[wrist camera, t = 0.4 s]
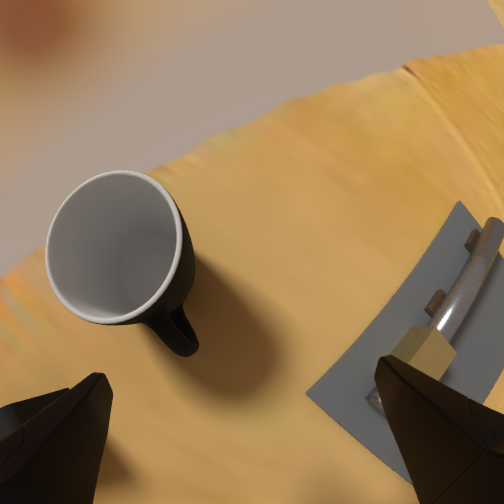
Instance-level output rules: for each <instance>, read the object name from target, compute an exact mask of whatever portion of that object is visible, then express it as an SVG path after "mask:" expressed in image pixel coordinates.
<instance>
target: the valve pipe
mask: <svg viewBox="0 0 504 504" xmlns="http://www.w3.org/2000/svg"><path fill="white" fill-rule="evenodd" d="M503 238H504V223H503V222H502V221H501V220H500V219H498V218H495V217H490V218H488V219H487V221H486V223H485V225H484V227H483V229H482V231H481V233H480V232H479V231H478V229H475V230H473V231H471V233H470V235H469V237H468V238H467V240H466V242H465V244H464V246H465V248H466V249H467V250H468V252H469V253H470V255H469V257H468V259H467V260H466V262H465V264H464V266H463V268H462V269H461V271H460V273H459V275H458V276H457V278H456V280H455V282H454V283H453V285H452V287H451V288H450V290H449V291H448V293H447V295H446V294H445V292H444V291H443V290H438V291H436V292H435V294H434V295H433V297H432V298H431V300H430V301H429V302H428V304H427V305H426V307H425V308H424V310H425V312H426V313H427V314H428V315H429V316H430V318H431V319H430V321H429V322H428V323H427V325H426V326H425V327H411V328H410V329H409V330H408V332H407V333H406V334H405V336H404V337H403V338H402V339H401V341H400V342H399V343H398V345H397V346H396V347H395V348H394V350H393V351H392V352H391V353H390V354H389V355H393V356H395V357H397V358H398V359H400V360H402V361H404V362H405V363H407V364H409V365H411V366H413V367H414V368H416V369H418V370H420V371H421V372H423V373H425V374H427V375H429V376H430V377H432V378H434V379H436V380H438V381H439V379H440V378H441V377H442V375H443V374H444V372H445V371H446V369H447V368H448V366H449V365H450V363H451V362H452V360H453V359H454V357H455V356H456V354H457V353H456V352H455V350H454V349H453V348H452V346H451V345H450V344H449V342H450V340H451V339H452V337H453V336H454V334H455V333H456V331H457V329H458V328H459V326H460V324H461V323H462V321H463V319H464V318H465V316H466V314H467V313H468V311H469V309H470V307H471V305H472V304H473V302H474V300H475V298H476V296H477V294H478V292H479V291H480V289H481V287H482V285H483V283H484V281H485V279H486V277H487V275H488V272H489V270H490V268H491V266H492V264H493V262H494V259H495V257H496V255H497V253H498V250H499V248H500V245H501V243H502V241H503ZM439 382H440V381H439ZM365 400H366V401H367V402H368V403H369V404H370V405H371V406H372V407H373V408H374V409H375V410H376V411H378V412H379V413H380V414H381V415H383V416H384V417H385V418H386V416H385V413H384V410H383V407H382V403H381V400H380V397H379V393H378V390H377V387H374V388H373V389H372V390H371V391H370V392H369V394H368V395H367V396H366V397H365Z"/></svg>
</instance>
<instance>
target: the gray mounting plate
mask: <svg viewBox="0 0 504 504" xmlns="http://www.w3.org/2000/svg"><path fill="white" fill-rule="evenodd" d="M475 229H478V231H479V232H480V233H481V231H482V228H481V226H480V225H479V224H478V222H477V221H476V220H475V219H474V217H473V216H472V215H471V213H470V212H469V211H468V210H467V208H466V207H465V206H464V205H463V204H462V202H461V201H458V202H457V203H456V205H455V207H454V208H453V210H452V212H451V213H450V215H449V216H448V218H447V220H446V221H445V223H444V224H443V226H442V228H441V229H440V231H439V232H438V234H437V235H436V237H435V238H434V240H433V241H432V243H431V244H430V246H429V247H428V249H427V250H426V252H425V253H424V255H423V256H422V258H421V259H420V260H419V262H418V263H417V265H416V266H415V268H414V269H413V270H412V272H411V273H410V274H409V276H408V277H407V278H406V280H405V281H404V282H403V284H402V285H401V286H400V288H399V289H398V290H397V292H396V293H395V294H394V296H393V297H392V298H391V299H390V301H389V302H388V303H387V304H386V306H385V307H384V308H383V309H382V311H381V312H380V313H379V314H378V315H377V317H376V318H375V319H374V320H373V321H372V323H371V324H370V325H369V326H368V327H367V328H366V330H365V331H364V332H363V333H362V334H361V335H360V336H359V338H358V339H357V340H356V341H355V342H354V343H353V344H352V345H351V347H350V348H349V349H348V350H347V351H346V352H345V353H344V354H343V355H342V356H341V357H340V358H339V360H338V361H337V362H336V363H335V364H334V365H333V366H332V367H331V368H330V369H329V370H328V371H327V372H326V373H325V374H324V375H323V376H322V377H321V378H320V379H319V380H318V381H317V382H316V383H315V384H314V385H313V386H312V387H311V388H310V389H309V390H308V391H307V392H306V394H307V395H308V396H309V397H310V398H311V399H312V400H313V401H314V402H315V403H316V404H317V405H318V406H319V407H321V408H322V409H323V410H324V411H325V412H326V413H327V414H328V415H329V416H331V417H332V418H333V419H334V420H335V421H336V422H337V423H338V424H339V425H341V426H342V427H343V428H344V429H345V430H346V431H347V432H349V433H350V434H351V435H352V436H353V437H354V438H356V439H357V440H358V441H359V442H360V443H361V444H363V445H364V446H365V447H366V448H367V449H368V450H370V451H371V452H372V453H373V454H374V455H376V456H377V457H378V458H379V459H380V460H382V461H383V462H384V463H385V464H387V465H388V466H389V467H390V468H392V469H393V470H394V471H395V472H397V473H398V474H399V475H400V476H402V477H403V478H404V479H405V480H407V481H408V482H409V483H411V484H412V481H411V478H410V476H409V473H408V471H407V468H406V466H405V463H404V460H403V458H402V455H401V453H400V450H399V448H398V446H397V443H396V441H395V438H394V436H393V433H392V431H391V429H390V426H389V424H388V422H387V419H386V418H385V417H384V416H383V415H381V414H380V413H379V412H378V411H376V410H375V409H374V408H373V407H372V406H371V405H370V404H369V403H368V402H367V401H366V400H365V397H366V396H367V395H368V394H369V392H370V391H371V390H372V389H373V388H374V387H376V383H375V380H374V374H375V370H376V367H377V363H378V359H379V358H380V357H381V356H385V355H389V354H390V353H391V352H392V351H393V350H394V348H395V347H396V346H397V345H398V343H399V342H400V341H401V339H402V338H403V337H404V336H405V334H406V333H407V332H408V330H409V329H410V328H411V327H425V326H426V325H427V323H428V322H429V321H430V319H431V318H430V316H429V315H428V314H427V313H426V312H425V310H424V308H425V307H426V305H427V304H428V302H429V301H430V300H431V298H432V297H433V295H434V294H435V292H436V291H438V290H443V291H444V292H445V294H446V295H447V293H448V291H449V290H450V288H451V287H452V285H453V283H454V282H455V280H456V278H457V276H458V275H459V273H460V271H461V269H462V268H463V266H464V264H465V262H466V260H467V259H468V257H469V255H470V253H469V252H468V250H467V249H466V248H465V246H464V244H465V242H466V240H467V238H468V237H469V235H470V233H471V231H473V230H475ZM449 344H450V345H451V346H452V348H453V349H454V350H455V352H456V353H457V354H456V356H455V357H454V359H453V360H452V362H451V363H450V365H449V366H448V368H447V369H446V371H445V372H444V374H443V375H442V377H441V378H440V379H439V381H440V382H441V383H443V384H445V385H447V386H449V387H450V388H452V389H454V390H456V391H458V392H459V393H461V394H463V395H465V396H467V397H468V399H469V398H471V399H472V400H474V401H476V402H478V403H480V404H483V402H484V401H485V399H486V398H487V396H488V394H489V393H490V391H491V389H492V388H493V386H494V384H495V383H496V381H497V379H498V377H499V376H500V374H501V372H502V370H503V368H504V259H503V258H502V256H501V255H500V253H499V252H498V253H497V255H496V257H495V259H494V262H493V264H492V266H491V268H490V270H489V272H488V275H487V277H486V279H485V281H484V283H483V285H482V287H481V289H480V291H479V292H478V294H477V296H476V298H475V300H474V302H473V304H472V305H471V307H470V309H469V311H468V313H467V314H466V316H465V318H464V319H463V321H462V323H461V324H460V326H459V328H458V329H457V331H456V333H455V334H454V336H453V337H452V339H451V340H450V342H449ZM412 485H413V484H412Z"/></svg>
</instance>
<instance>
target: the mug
mask: <svg viewBox="0 0 504 504" xmlns="http://www.w3.org/2000/svg"><path fill="white" fill-rule="evenodd" d="M45 261H46V270H47V274H48V278H49V281H50V284H51V287H52V289H53V291H54V293H55V294H56V296H57V298H58V299H59V300H60V302H61V303H62V304H63V305H64V306H65V307H66V308H67V309H68V310H69V311H70V312H71V313H73V314H74V315H76V316H77V317H79V318H81V319H83V320H86V321H88V322H91V323H95V324H101V325H130V324H137V323H145V324H147V325H148V326H149V327H150V328H151V329H152V330H153V331H154V332H155V333H156V334H157V335H158V336H159V337H160V339H161V340H162V341H163V342H164V343H165V344H166V345H167V346H168V347H169V348H170V349H171V350H172V351H173V352H175V353H176V354H178V355H179V356H182V357H188V356H191V355H193V354H194V353H195V352H196V351H197V350H198V348H199V342H198V339H197V337H196V334H195V332H194V330H193V328H192V327H191V325H190V323H189V321H188V319H187V318H186V316H185V313H184V310H183V306H182V304H183V301H184V299H185V298H186V296H187V294H188V293H189V291H190V289H191V286H192V283H193V279H194V274H195V257H194V250H193V246H192V242H191V238H190V235H189V232H188V229H187V226H186V223H185V221H184V219H183V216H182V214H181V212H180V210H179V208H178V206H177V204H176V203H175V201H174V199H173V198H172V197H171V195H170V194H169V192H168V191H167V190H166V189H165V188H164V187H163V186H162V185H161V184H159V183H158V182H157V181H155V180H154V179H152V178H151V177H149V176H147V175H144V174H142V173H138V172H134V171H126V170H125V171H124V170H121V171H111V172H107V173H103V174H100V175H97V176H95V177H93V178H91V179H89V180H87V181H86V182H84V183H83V184H82V185H80V186H79V187H78V188H76V189H75V190H74V191H73V192H72V193H71V194H70V195H69V196H68V197H67V198H66V200H65V201H64V202H63V203H62V205H61V206H60V208H59V210H58V211H57V213H56V215H55V217H54V219H53V221H52V224H51V226H50V229H49V233H48V237H47V242H46V250H45Z"/></svg>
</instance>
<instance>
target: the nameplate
mask: <svg viewBox="0 0 504 504" xmlns="http://www.w3.org/2000/svg"><path fill="white" fill-rule="evenodd" d="M68 391H69V388H65V389H62V390H59V391H55V392H52V393H48V394H45V395H41V396H38V397H34V398H31V399H27V400H23V401H19V402H15V403H12V404H9V405H6V406H4V407H1V408H0V441H1V440H3V439H4V438H6V437H7V436H9V435H10V434H11V433H13V432H14V431H16V430H17V429H18V428H20V427H21V426H22V425H24V424H25V423H26V422H28V421H29V420H30V419H32V418H33V417H34V416H36V415H37V414H38V413H40V412H41V411H42V410H44V409H45V408H46V407H48V406H49V405H50V404H52V403H53V402H54V401H56V400H57V399H58V398H60V397H61V396H62V395H64V394H65V393H66V392H68Z"/></svg>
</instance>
